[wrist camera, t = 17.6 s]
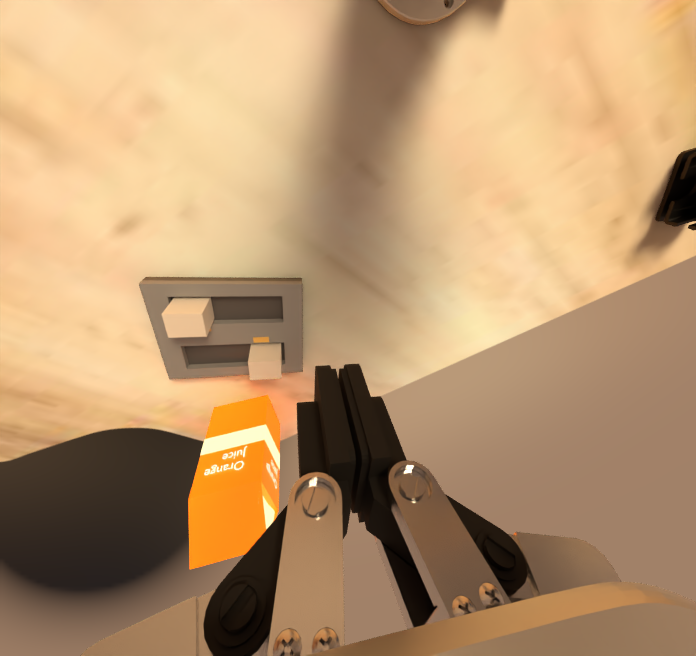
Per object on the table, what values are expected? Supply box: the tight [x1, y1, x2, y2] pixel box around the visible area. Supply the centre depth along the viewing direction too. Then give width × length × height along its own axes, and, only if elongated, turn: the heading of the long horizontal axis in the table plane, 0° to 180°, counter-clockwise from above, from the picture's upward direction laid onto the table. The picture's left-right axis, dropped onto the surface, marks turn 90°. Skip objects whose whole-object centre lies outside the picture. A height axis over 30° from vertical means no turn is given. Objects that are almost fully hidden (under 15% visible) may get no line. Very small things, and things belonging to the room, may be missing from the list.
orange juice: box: [188, 395, 280, 569], centre depth 40 cm, size 8×9×20 cm
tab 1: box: [161, 297, 214, 338], centre depth 33 cm, size 4×3×4 cm
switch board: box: [139, 277, 303, 379], centre depth 38 cm, size 18×14×2 cm
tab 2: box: [248, 343, 282, 380], centre depth 38 cm, size 4×3×4 cm
